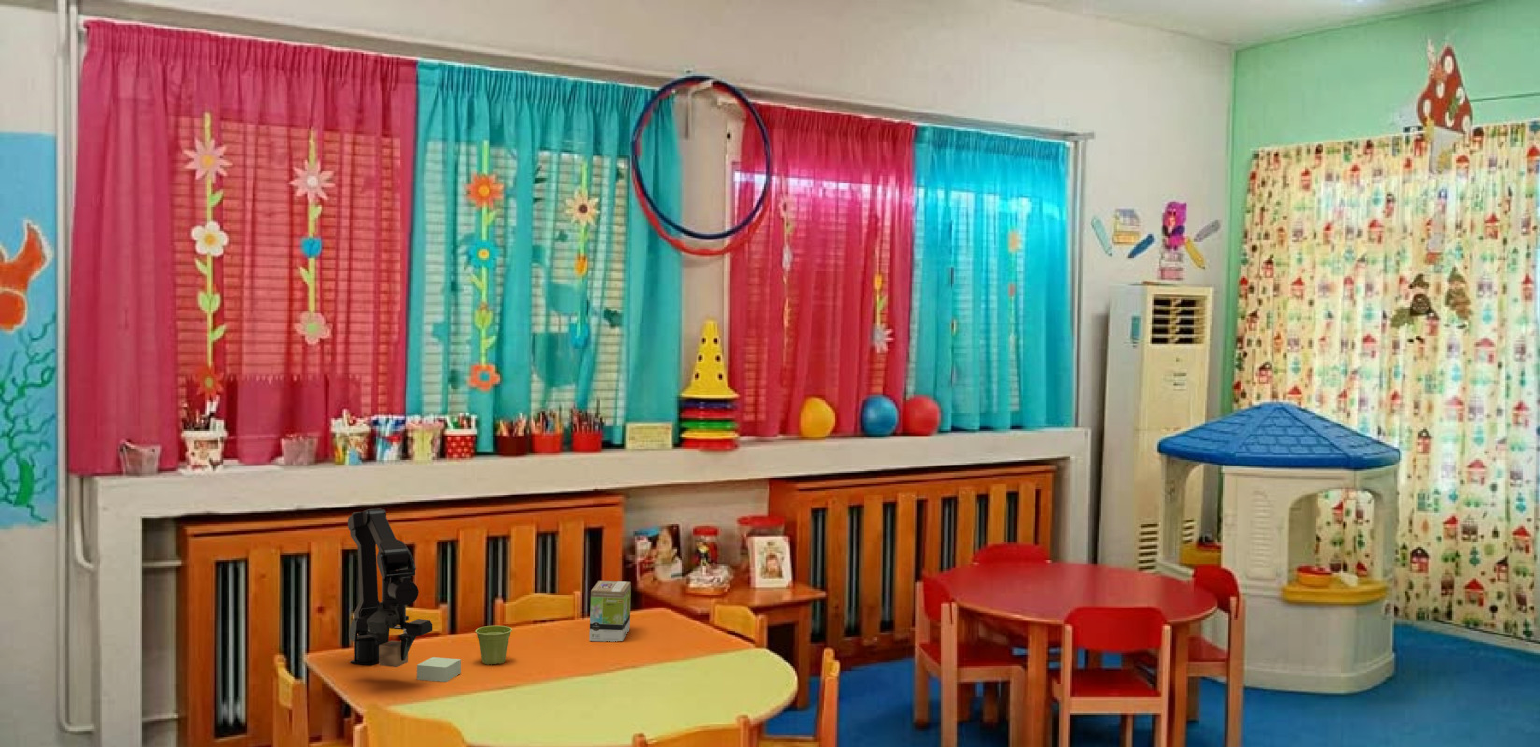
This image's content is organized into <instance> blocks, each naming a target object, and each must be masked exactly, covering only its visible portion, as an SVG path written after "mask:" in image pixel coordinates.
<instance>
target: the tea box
mask: <svg viewBox="0 0 1540 747" xmlns="http://www.w3.org/2000/svg"><path fill="white" fill-rule="evenodd" d="M631 585H632V583H631V581H621V580H619V581H618V580H617V581H616V580H614V581H613V580H597V582H596V583H595V585H594V586H593V587H592V589H590V590H591V591H590V609H589V610H590V612H589V614H590V616H589V635H588V636H589V639H588V640H589V641H590V642H606V641H608V642H609V641H610V643H611V642H612V643H614V642H615V641H616V642H615V643H618V642H617V641H622V642H623V641H624V640H625V638H626V636H627V635H628V633H629V630H630V625H631V620H630V619H631V598H632V597H631V592H632V591H631V590H632V586H631ZM627 632H628V633H627ZM626 634H627V635H626Z"/></svg>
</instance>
